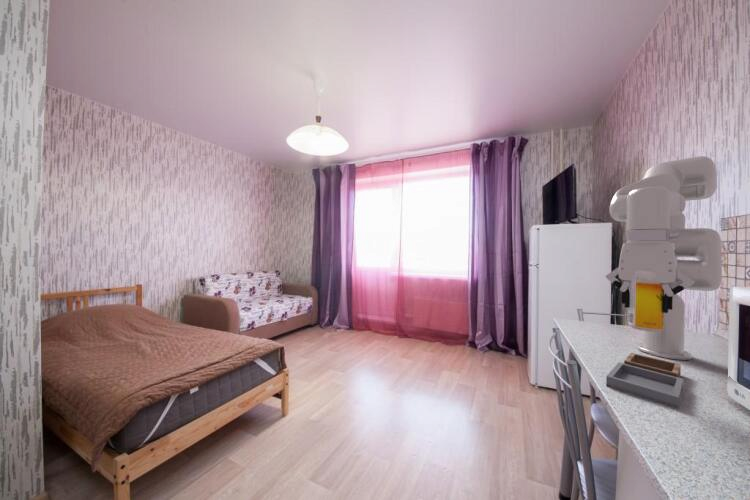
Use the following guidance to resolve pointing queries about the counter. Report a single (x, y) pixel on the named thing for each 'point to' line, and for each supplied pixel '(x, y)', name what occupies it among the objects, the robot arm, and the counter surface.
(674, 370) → the collar
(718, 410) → the counter surface
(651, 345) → the robot arm
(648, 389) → the tray
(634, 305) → the beer can
